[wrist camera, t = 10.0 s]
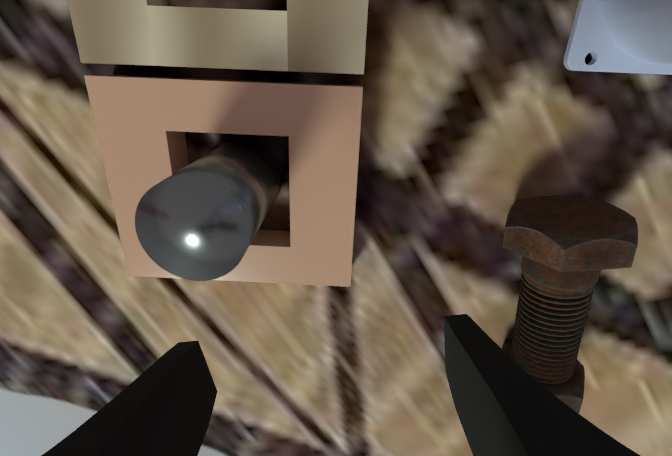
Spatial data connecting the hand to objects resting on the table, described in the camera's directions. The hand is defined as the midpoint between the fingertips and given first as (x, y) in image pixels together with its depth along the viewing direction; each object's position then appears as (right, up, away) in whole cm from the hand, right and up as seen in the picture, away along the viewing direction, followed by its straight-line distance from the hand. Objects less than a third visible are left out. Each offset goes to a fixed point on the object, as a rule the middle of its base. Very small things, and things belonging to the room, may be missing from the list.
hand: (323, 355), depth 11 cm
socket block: (-5, +6, +9) cm, 12 cm away
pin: (-5, +6, +9) cm, 12 cm away
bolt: (+12, -1, +12) cm, 17 cm away
